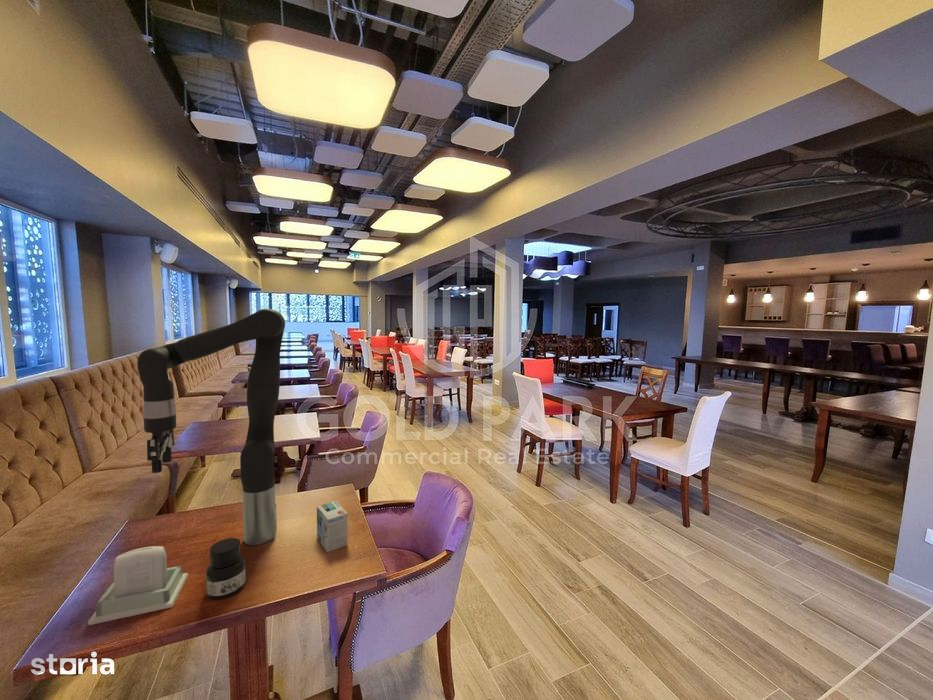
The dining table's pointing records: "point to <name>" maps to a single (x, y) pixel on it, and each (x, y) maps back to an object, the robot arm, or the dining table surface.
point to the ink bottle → (225, 569)
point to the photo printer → (140, 571)
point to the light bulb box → (332, 526)
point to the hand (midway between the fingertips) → (162, 467)
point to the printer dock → (139, 599)
